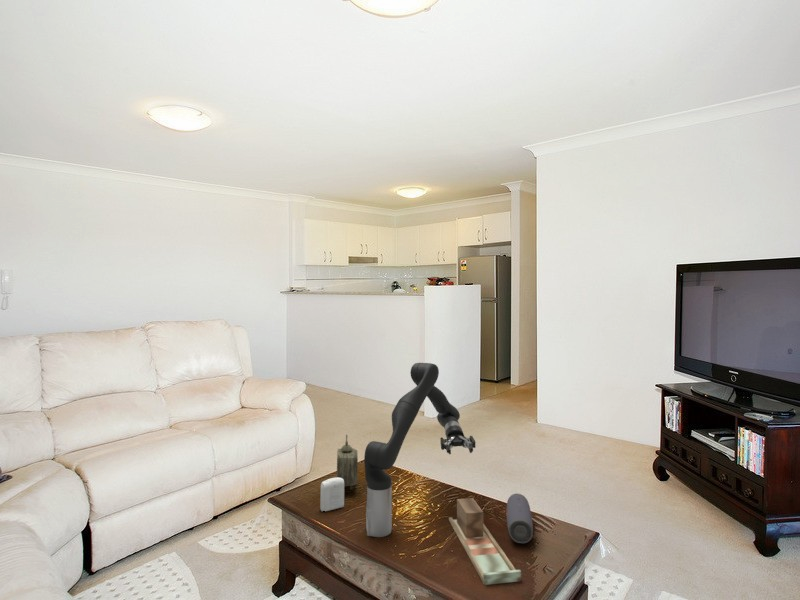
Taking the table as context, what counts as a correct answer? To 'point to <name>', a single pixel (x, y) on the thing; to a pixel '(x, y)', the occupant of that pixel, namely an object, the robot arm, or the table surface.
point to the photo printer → (332, 494)
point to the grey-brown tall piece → (347, 465)
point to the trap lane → (487, 557)
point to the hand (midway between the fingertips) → (460, 451)
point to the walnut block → (470, 517)
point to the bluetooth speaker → (519, 519)
